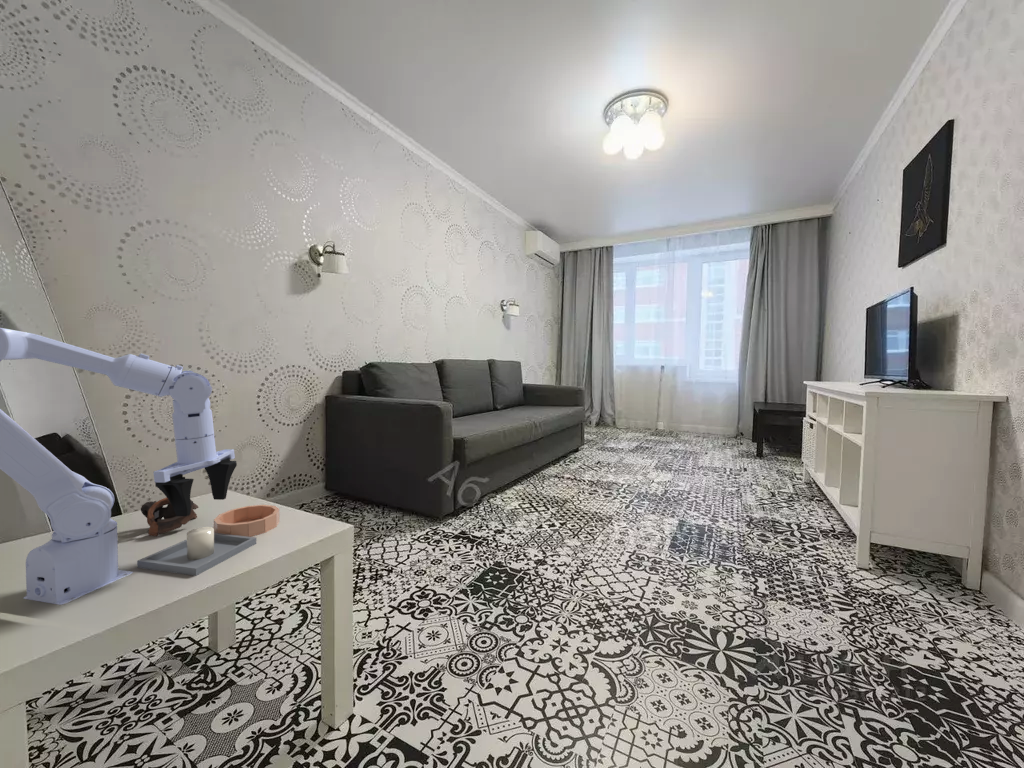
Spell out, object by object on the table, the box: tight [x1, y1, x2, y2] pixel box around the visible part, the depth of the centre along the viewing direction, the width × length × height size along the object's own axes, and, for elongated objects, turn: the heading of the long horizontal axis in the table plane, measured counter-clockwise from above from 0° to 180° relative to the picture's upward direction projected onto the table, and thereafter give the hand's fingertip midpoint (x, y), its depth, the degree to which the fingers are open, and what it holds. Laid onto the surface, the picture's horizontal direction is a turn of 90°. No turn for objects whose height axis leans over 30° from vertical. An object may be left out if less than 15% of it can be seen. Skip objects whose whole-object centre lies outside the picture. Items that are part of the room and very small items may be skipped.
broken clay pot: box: [140, 497, 200, 537], centre depth 86 cm, size 12×10×8 cm
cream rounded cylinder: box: [186, 526, 214, 560], centre depth 74 cm, size 4×4×4 cm
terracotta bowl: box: [213, 504, 281, 537], centre depth 86 cm, size 12×12×4 cm
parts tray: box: [136, 533, 257, 577], centre depth 74 cm, size 12×12×2 cm
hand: (202, 506), depth 74 cm, fingers open, 7 cm apart
